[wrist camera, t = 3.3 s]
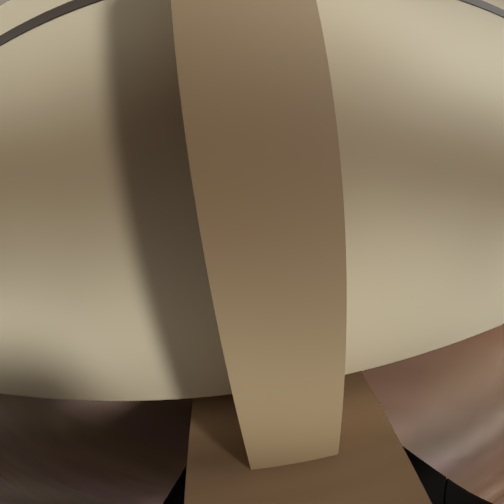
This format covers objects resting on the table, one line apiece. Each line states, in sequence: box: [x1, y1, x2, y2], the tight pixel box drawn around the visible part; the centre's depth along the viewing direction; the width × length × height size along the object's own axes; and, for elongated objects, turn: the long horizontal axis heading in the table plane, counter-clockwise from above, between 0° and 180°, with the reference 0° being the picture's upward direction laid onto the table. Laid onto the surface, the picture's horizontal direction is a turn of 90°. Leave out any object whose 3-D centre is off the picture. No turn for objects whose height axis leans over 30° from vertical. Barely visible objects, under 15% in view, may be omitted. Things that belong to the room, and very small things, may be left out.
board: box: [0, 0, 504, 401], centre depth 6 cm, size 9×24×2 cm, turn 97°
